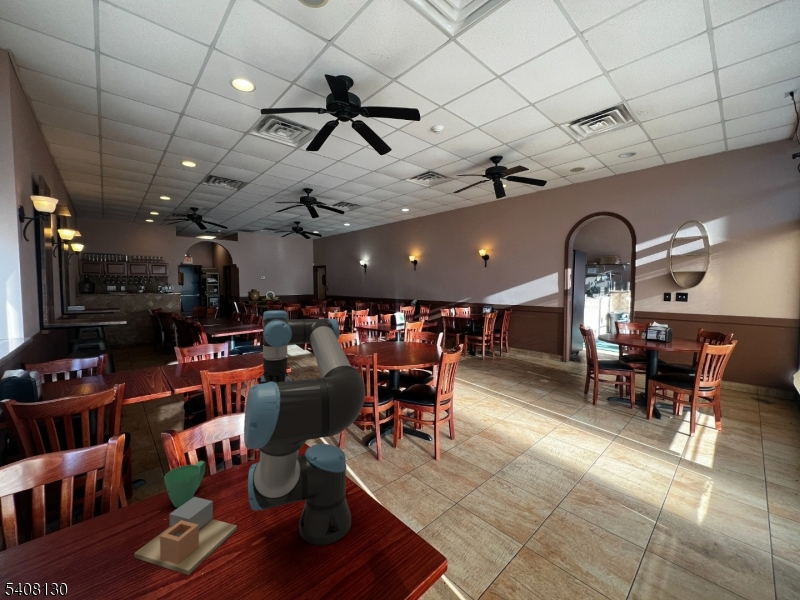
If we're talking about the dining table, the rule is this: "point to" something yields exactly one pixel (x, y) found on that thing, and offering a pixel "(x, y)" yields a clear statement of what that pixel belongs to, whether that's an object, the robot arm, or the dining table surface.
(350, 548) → the dining table surface
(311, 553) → the dining table surface
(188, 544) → the orange open-topped box
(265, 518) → the dining table surface
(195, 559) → the housing board
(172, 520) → the cover
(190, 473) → the green rounded tapered part
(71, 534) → the dining table surface
